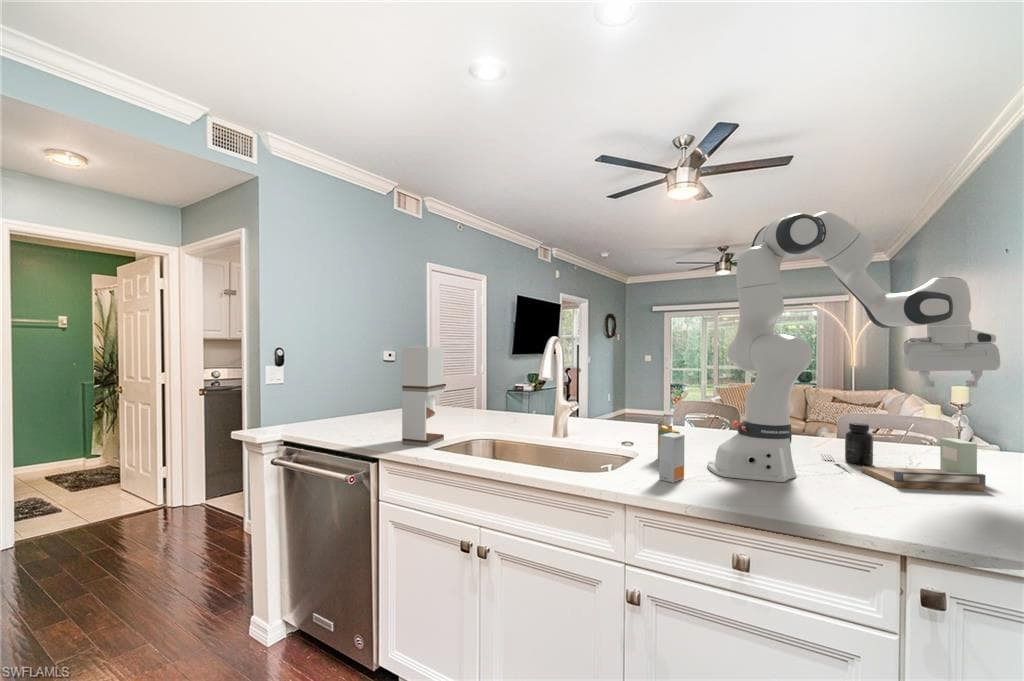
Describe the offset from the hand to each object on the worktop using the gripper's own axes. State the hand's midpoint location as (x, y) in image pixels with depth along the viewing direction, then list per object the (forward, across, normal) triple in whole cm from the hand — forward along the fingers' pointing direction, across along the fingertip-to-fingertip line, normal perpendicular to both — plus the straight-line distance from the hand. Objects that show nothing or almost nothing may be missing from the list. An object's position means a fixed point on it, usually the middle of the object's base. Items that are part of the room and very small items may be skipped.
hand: (950, 387), depth 124 cm
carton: (+25, +1, 0) cm, 25 cm away
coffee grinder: (+20, -159, 0) cm, 160 cm away
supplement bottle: (+24, -18, +10) cm, 32 cm away
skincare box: (+22, -74, -23) cm, 81 cm away
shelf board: (+24, -11, -6) cm, 27 cm away
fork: (+24, -25, +2) cm, 35 cm away
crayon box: (+22, -74, -3) cm, 77 cm away
